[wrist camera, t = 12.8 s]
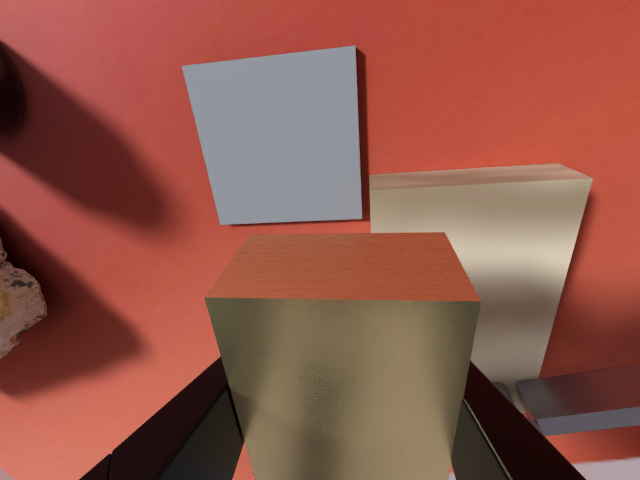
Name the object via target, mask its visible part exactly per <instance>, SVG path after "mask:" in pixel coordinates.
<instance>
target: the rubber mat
mask: <svg viewBox="0 0 640 480" xmlns="http://www.w3.org/2000/svg"><path fill="white" fill-rule="evenodd" d="M182 69H183V73H184V77H185V81H186V85H187V89H188V94H189V98H190V102H191V106H192V110H193V114H194V118H195V122H196V126H197V131H198V135H199V139H200V143H201V147H202V151H203V155H204V159H205V163H206V168H207V172H208V176H209V180H210V184H211V188H212V192H213V196H214V201H215V205H216V209H217V213H218V217H219V221H220V225H226V224H250V223H274V222H298V221H322V220H346V219H362V198H361V172H360V147H359V121H358V95H357V70H356V46H347V47H339V48H330V49H322V50H313V51H305V52H296V53H288V54H279V55H271V56H262V57H254V58H246V59H237V60H229V61H220V62H212V63H203V64H195V65H186V66H182Z"/></svg>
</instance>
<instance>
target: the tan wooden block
mask: <svg viewBox="0 0 640 480" xmlns="http://www.w3.org/2000/svg"><path fill="white" fill-rule="evenodd" d="M205 300H206V304H207V308H208V311H209V315H210V318H211V322H212V326H213V329H214V333H215V336H216V340H217V344H218V347H219V351H220V354H221V358H222V362H223V365H224V369H225V372H226V376H227V380H228V383H229V387H230V390H231V394H232V398H233V401H234V405H235V408H236V412H237V416H238V419H239V423H240V427H241V430H242V434H243V437H244V441H245V445H246V448H247V452H248V455H249V459H250V463H251V466H252V470H253V473H254V477H255V480H448V479H449V473H450V468H451V456H452V450H453V445H454V439H455V433H456V428H457V422H458V417H459V411H460V406H461V400H462V399H463V397H464V392H465V386H466V381H467V375H468V370H469V364H470V359H471V354H472V348H473V343H474V337H475V332H476V326H477V321H478V316H479V310H480V305H481V300H480V298H479V297H478V295H477V293H476V291H475V289H474V287H473V285H472V283H471V281H470V279H469V277H468V276H467V274H466V272H465V270H464V268H463V266H462V264H461V262H460V260H459V258H458V257H457V255H456V253H455V251H454V249H453V247H452V245H451V243H450V241H449V239H448V237H447V236H446V234H445V232H417V233H339V234H262V235H249V236H248V238H247V239H246V240H245V242H244V243H243V245H242V246H241V247H240V249H239V250H238V252H237V253H236V254H235V256H234V257H233V259H232V260H231V261H230V263H229V264H228V266H227V267H226V268H225V270H224V271H223V273H222V274H221V275H220V277H219V278H218V280H217V281H216V282H215V284H214V285H213V287H212V288H211V289H210V291H209V292H208V294H207V295H206V296H205Z"/></svg>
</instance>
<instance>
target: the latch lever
mask: <svg viewBox="0 0 640 480" xmlns="http://www.w3.org/2000/svg"><path fill="white" fill-rule="evenodd" d="M516 387H517V392H518V397H519V400H520V402H521V404H522V406H523V408H524V410H525V412H526V414H527V416H528V418H529V419H531V420H532V421H534V422H536V423H537V424H538V425H539V426H540V428H541V430H542V432H543V434H544V436H549V435H558V434H566V433H575V432H584V431H593V430H602V429H611V428H620V427H629V426H638V425H640V364H633V365H627V366H620V367H614V368H607V369H601V370H594V371H588V372H581V373H575V374H568V375H562V376H555V377H549V378H542V379H536V380H529V381H523V382H516Z"/></svg>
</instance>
